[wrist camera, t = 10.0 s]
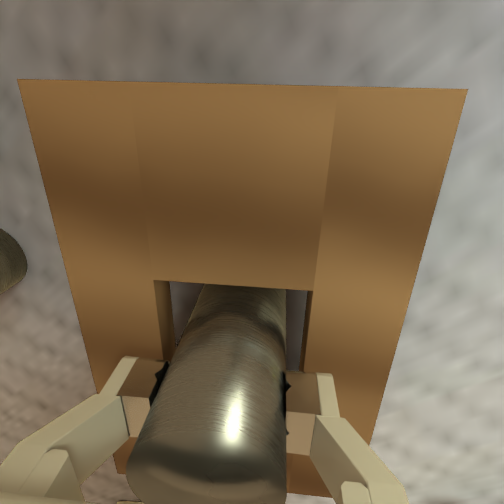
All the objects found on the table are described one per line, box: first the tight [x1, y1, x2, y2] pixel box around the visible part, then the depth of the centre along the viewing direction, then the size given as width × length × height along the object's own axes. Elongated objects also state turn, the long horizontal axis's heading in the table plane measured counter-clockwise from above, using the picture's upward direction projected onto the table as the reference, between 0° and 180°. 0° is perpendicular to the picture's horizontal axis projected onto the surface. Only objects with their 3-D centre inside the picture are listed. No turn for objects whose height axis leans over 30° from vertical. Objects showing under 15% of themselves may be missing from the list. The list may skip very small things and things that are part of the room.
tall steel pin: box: [126, 284, 287, 504], centre depth 12 cm, size 4×4×10 cm
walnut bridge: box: [17, 79, 468, 498], centre depth 15 cm, size 18×12×6 cm, turn 179°
